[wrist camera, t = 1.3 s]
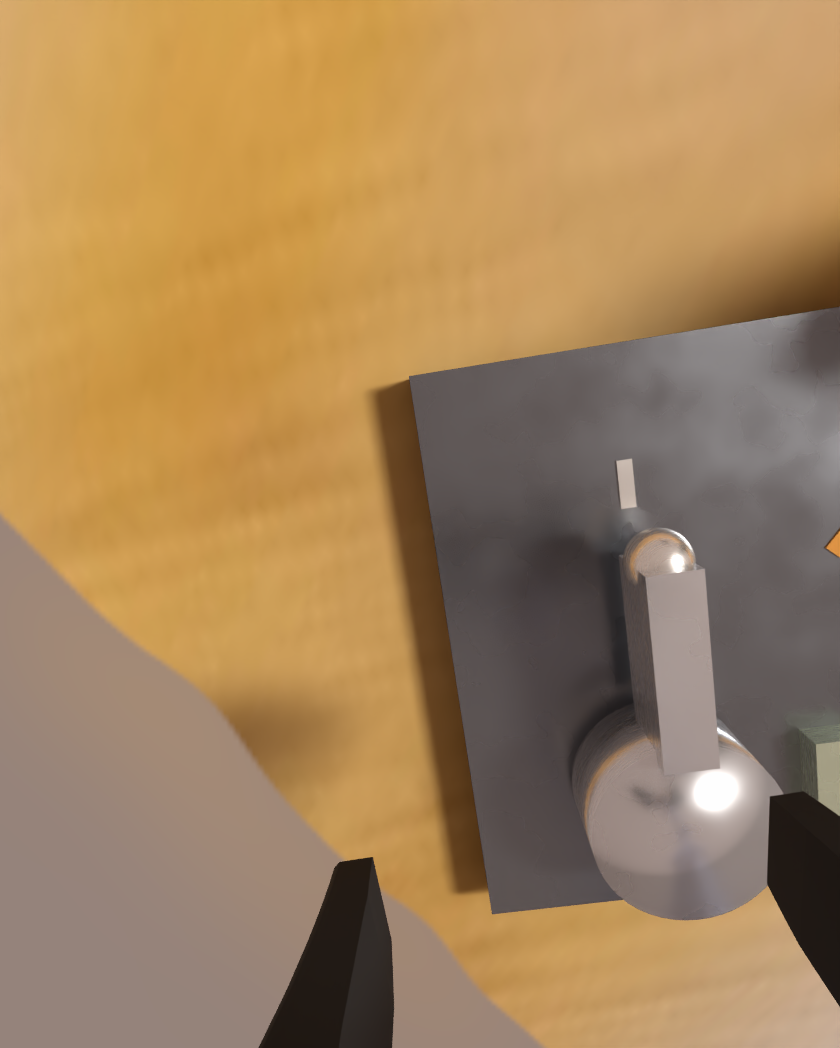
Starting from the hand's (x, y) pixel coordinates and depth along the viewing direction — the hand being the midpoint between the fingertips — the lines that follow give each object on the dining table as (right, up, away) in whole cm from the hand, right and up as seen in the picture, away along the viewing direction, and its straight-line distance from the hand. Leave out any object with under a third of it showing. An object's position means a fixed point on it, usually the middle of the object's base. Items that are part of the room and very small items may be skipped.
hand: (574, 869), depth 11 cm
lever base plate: (+6, +3, +12) cm, 13 cm away
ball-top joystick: (+5, 0, +10) cm, 11 cm away
